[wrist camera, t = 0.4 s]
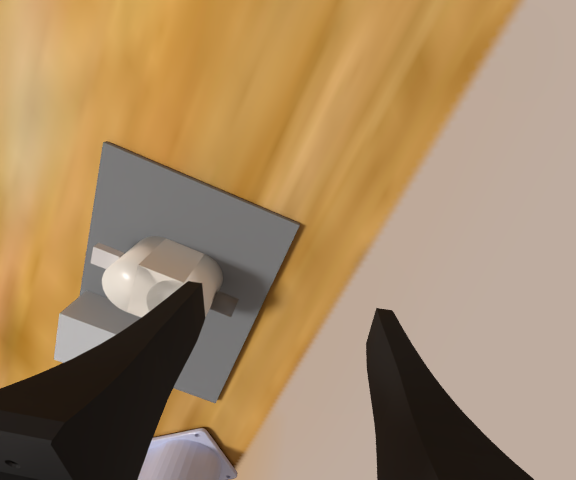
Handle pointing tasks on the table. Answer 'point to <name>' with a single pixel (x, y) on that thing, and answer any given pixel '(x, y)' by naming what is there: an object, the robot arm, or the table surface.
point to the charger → (88, 325)
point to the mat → (196, 235)
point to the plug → (159, 275)
